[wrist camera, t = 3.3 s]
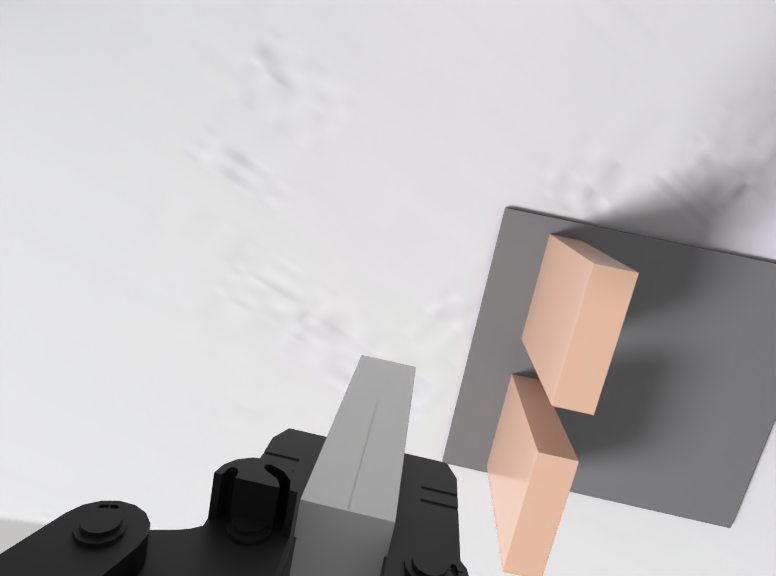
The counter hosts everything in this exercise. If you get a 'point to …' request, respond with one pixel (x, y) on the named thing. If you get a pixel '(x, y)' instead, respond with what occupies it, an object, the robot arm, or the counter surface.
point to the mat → (640, 371)
